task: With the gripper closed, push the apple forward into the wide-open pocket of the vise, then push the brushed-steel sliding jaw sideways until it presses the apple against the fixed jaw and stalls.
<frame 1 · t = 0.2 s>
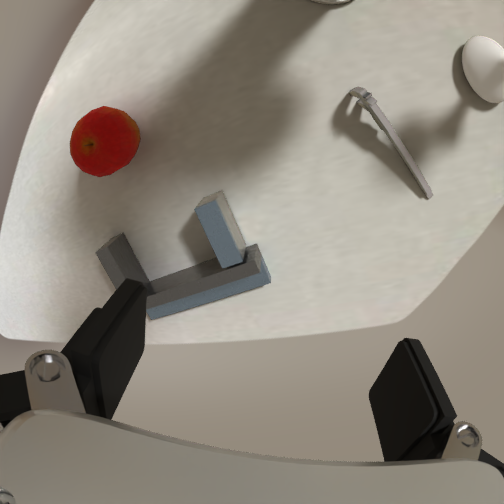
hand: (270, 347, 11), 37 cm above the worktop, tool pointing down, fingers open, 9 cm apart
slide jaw: (222, 228, 45), point 3 cm above the worktop, slide at 0.0 cm
apple: (125, 137, 44), on the worktop
caliper: (393, 145, 42), on the worktop
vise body: (176, 246, 50), on the worktop
flower in vase: (479, 66, 35), on the worktop
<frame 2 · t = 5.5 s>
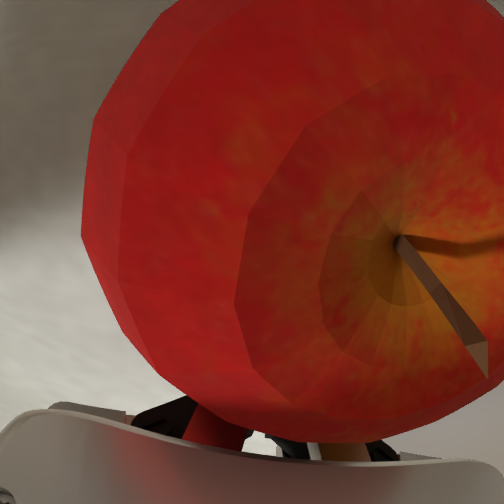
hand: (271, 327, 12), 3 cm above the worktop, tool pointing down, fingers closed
apple: (307, 155, 13), on the worktop, touching gripper
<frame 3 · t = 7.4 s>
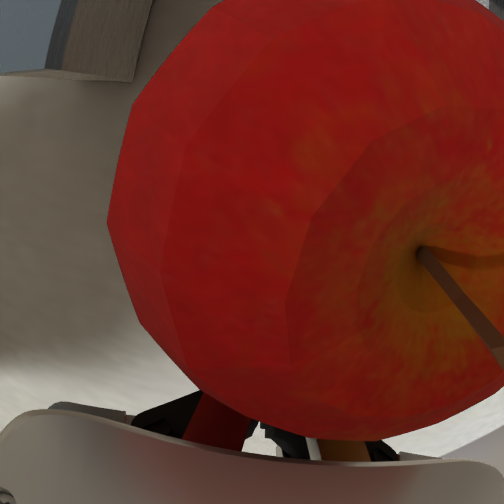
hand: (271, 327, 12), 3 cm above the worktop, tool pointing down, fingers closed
apple: (316, 158, 13), on the worktop, touching gripper
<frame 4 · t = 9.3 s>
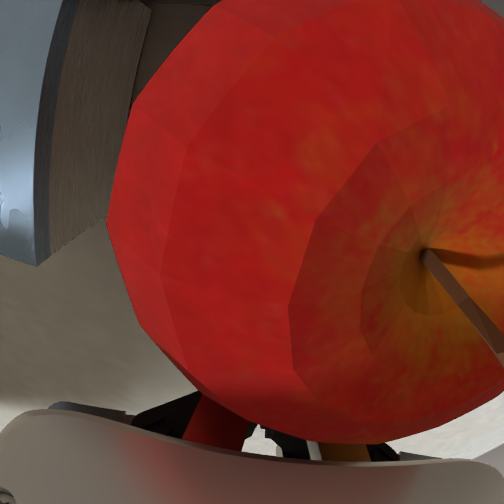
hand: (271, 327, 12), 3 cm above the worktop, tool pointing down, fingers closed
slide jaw: (59, 107, 9), point 3 cm above the worktop, slide at 0.0 cm
apple: (317, 158, 13), on the worktop, touching gripper
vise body: (314, 118, 12), on the worktop
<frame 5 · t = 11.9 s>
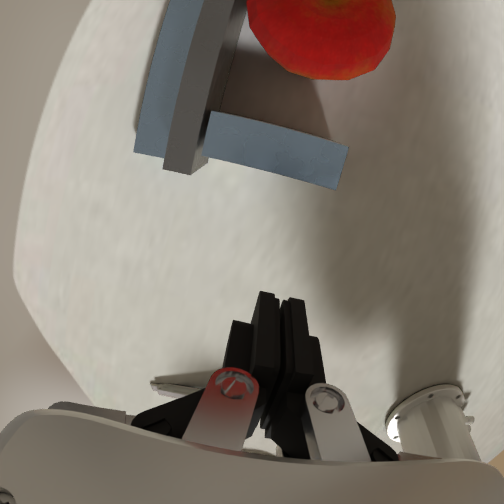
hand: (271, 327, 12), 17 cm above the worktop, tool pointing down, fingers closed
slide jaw: (274, 145, 22), point 3 cm above the worktop, slide at 0.0 cm
apple: (309, 39, 22), on the worktop
caliper: (229, 384, 37), on the worktop
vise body: (289, 39, 22), on the worktop
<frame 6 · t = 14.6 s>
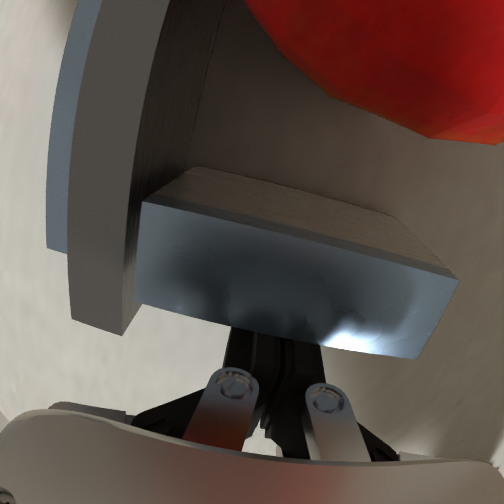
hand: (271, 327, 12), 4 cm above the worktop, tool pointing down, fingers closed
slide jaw: (295, 250, 11), point 3 cm above the worktop, slide at 0.3 cm, touching gripper
apple: (355, 26, 11), on the worktop
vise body: (317, 25, 11), on the worktop
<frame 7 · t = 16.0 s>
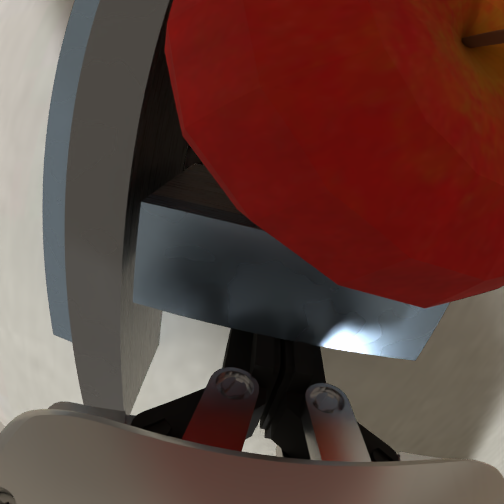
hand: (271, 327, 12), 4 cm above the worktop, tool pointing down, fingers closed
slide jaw: (295, 250, 11), point 3 cm above the worktop, slide at 5.9 cm, touching apple, gripper
apple: (333, 88, 12), on the worktop, touching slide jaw, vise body
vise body: (286, 144, 13), on the worktop
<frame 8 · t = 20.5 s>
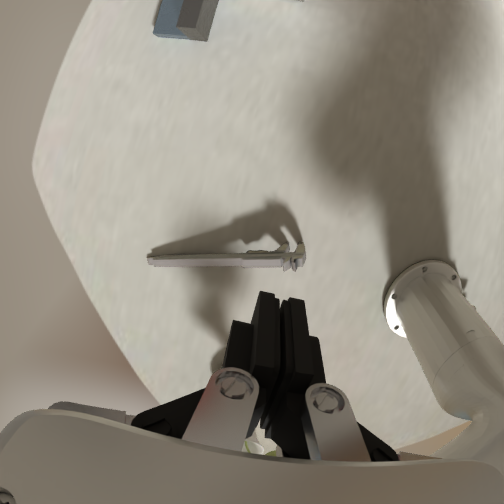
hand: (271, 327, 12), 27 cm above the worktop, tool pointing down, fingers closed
caliper: (222, 251, 41), on the worktop
flower in vase: (256, 377, 49), on the worktop
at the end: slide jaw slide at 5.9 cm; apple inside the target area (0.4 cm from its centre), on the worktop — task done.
